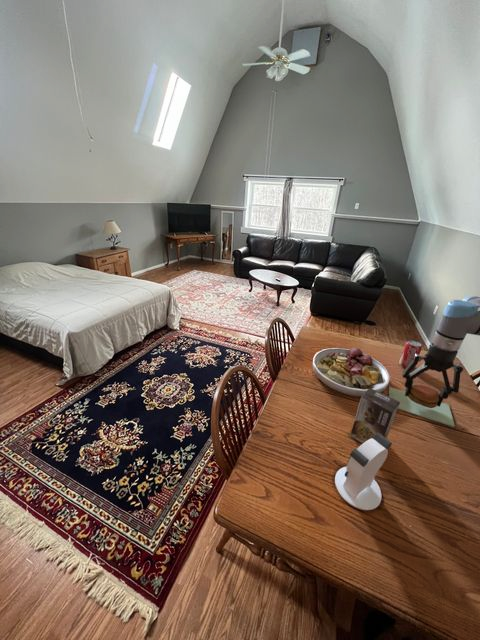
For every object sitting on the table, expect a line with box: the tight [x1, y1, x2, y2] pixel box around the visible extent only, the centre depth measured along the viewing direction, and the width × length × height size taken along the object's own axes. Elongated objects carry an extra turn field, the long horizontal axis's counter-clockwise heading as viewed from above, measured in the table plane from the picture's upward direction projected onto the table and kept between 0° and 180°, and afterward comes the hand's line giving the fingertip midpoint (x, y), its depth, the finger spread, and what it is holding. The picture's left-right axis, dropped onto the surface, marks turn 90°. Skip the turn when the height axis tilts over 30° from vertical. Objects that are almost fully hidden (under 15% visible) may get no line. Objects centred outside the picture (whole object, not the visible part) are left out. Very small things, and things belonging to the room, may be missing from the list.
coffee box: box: [349, 388, 400, 444], centre depth 81 cm, size 9×6×16 cm
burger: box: [408, 382, 440, 408], centre depth 97 cm, size 10×9×5 cm
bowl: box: [312, 347, 391, 398], centre depth 112 cm, size 30×30×8 cm
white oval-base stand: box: [334, 433, 393, 511], centre depth 67 cm, size 12×11×15 cm
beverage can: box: [398, 340, 423, 369], centre depth 121 cm, size 6×6×12 cm
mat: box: [388, 386, 456, 428], centre depth 99 cm, size 20×12×1 cm, turn 63°
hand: (421, 398), depth 98 cm, fingers closed on burger, 9 cm apart
